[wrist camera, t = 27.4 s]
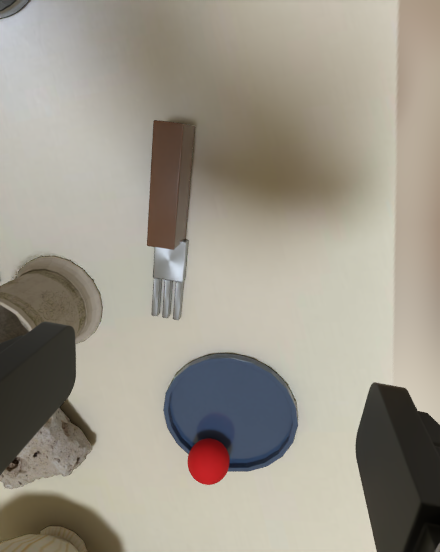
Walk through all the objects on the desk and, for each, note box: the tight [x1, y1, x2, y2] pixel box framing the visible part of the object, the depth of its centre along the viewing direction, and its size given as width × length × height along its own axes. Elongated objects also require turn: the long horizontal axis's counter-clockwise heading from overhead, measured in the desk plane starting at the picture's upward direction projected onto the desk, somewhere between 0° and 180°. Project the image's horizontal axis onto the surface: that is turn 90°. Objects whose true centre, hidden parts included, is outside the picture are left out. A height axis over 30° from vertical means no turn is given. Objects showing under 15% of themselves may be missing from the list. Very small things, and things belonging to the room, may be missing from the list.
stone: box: [0, 408, 92, 489], centre depth 45 cm, size 13×6×10 cm
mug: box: [0, 256, 102, 344], centre depth 36 cm, size 14×10×12 cm
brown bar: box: [147, 120, 195, 320], centre depth 35 cm, size 18×3×4 cm, turn 173°
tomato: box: [188, 438, 230, 485], centre depth 42 cm, size 4×4×5 cm
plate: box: [164, 353, 298, 471], centre depth 42 cm, size 14×14×1 cm
